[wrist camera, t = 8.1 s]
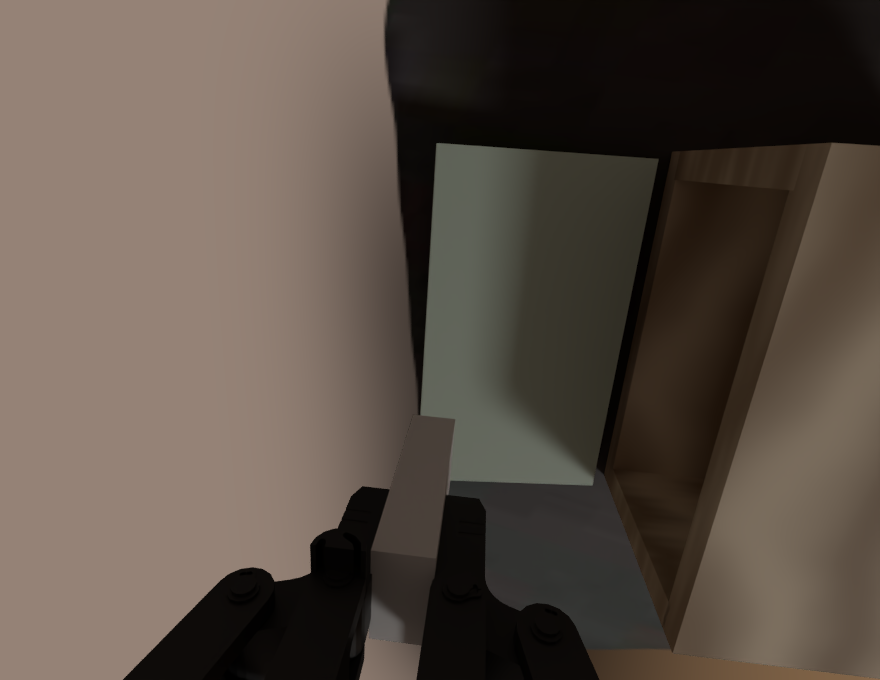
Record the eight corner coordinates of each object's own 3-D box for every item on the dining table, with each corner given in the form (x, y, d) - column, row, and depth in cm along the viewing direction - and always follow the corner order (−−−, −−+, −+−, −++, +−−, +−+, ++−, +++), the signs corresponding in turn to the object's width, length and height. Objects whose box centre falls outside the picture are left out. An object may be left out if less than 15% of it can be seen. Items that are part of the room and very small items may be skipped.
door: (658, 159, 27) (436, 143, 26) (592, 485, 34) (416, 479, 33) (641, 158, 29) (435, 144, 28) (582, 466, 36) (417, 460, 35)
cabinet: (927, 168, 28) (1323, 174, 15) (803, 495, 35) (992, 692, 22) (672, 151, 29) (831, 142, 15) (604, 474, 36) (672, 653, 23)
